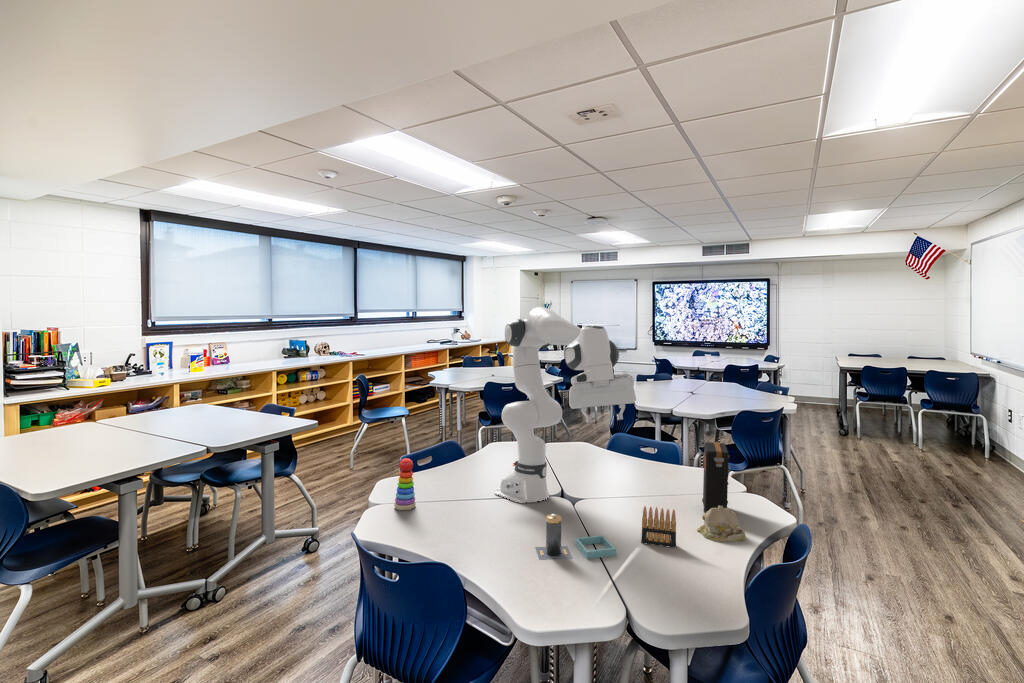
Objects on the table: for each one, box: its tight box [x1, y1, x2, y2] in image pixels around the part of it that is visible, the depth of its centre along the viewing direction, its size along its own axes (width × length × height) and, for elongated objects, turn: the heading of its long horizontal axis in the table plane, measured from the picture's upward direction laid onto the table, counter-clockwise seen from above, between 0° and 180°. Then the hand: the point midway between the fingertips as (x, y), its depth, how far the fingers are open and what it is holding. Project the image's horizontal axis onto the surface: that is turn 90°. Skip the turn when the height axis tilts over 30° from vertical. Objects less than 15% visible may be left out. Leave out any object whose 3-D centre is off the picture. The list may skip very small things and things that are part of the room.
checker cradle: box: [535, 545, 573, 561], centre depth 148 cm, size 10×8×1 cm
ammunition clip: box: [640, 505, 677, 548], centre depth 156 cm, size 11×2×12 cm, turn 73°
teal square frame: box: [574, 534, 617, 560], centre depth 149 cm, size 9×9×3 cm
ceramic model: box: [696, 506, 746, 542], centre depth 163 cm, size 14×11×10 cm
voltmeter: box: [701, 441, 730, 514], centre depth 182 cm, size 16×9×25 cm, turn 161°
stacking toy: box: [393, 457, 417, 511], centre depth 185 cm, size 8×8×19 cm
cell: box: [545, 513, 563, 556], centre depth 147 cm, size 5×5×12 cm
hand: (604, 421), depth 148 cm, fingers open, 8 cm apart
